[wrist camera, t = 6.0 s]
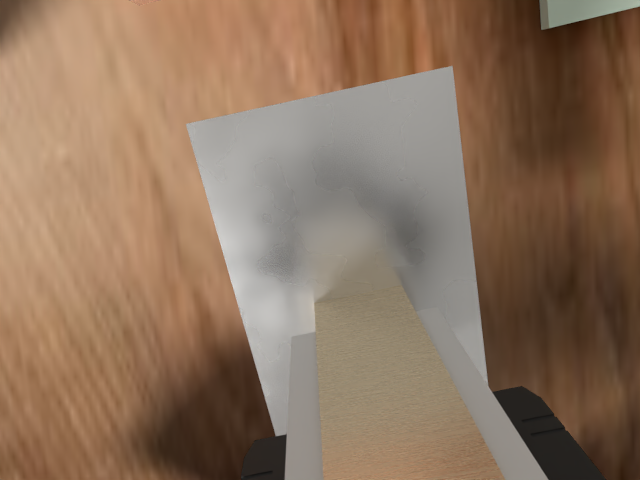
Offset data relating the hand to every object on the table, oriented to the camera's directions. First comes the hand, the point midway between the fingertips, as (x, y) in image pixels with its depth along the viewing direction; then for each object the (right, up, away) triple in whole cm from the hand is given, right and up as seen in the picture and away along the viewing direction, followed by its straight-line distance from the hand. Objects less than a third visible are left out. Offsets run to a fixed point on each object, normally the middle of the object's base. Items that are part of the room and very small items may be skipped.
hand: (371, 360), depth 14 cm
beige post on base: (0, +1, +3) cm, 3 cm away
